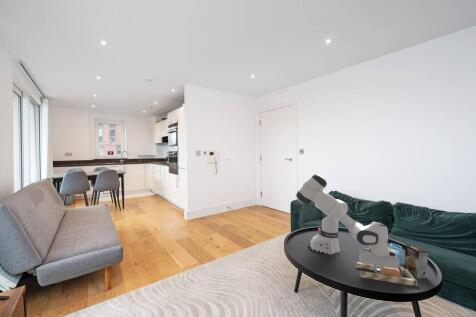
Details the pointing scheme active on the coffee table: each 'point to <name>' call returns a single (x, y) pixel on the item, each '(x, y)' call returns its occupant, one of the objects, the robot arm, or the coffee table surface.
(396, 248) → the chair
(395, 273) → the terracotta block
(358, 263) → the birch trap lane
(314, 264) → the coffee table surface
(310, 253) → the coffee table surface
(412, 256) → the coffee box
